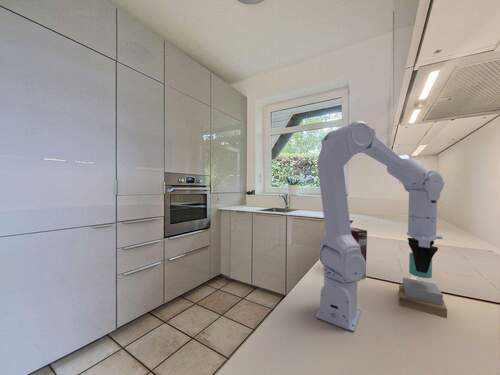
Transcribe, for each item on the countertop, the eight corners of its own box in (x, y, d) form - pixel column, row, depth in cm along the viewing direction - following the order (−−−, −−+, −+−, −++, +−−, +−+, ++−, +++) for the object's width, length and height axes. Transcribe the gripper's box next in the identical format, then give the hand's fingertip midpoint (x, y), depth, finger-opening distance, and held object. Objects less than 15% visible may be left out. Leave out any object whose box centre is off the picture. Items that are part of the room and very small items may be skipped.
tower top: (442, 305, 50) (442, 295, 50) (406, 297, 54) (406, 287, 54) (434, 292, 56) (434, 283, 56) (402, 286, 60) (402, 277, 60)
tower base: (447, 320, 49) (447, 309, 49) (399, 306, 54) (399, 297, 54) (440, 303, 56) (440, 293, 56) (398, 292, 61) (399, 284, 61)
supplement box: (335, 270, 75) (336, 226, 75) (345, 268, 77) (346, 225, 77) (356, 280, 67) (357, 231, 67) (366, 278, 69) (368, 230, 69)
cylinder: (433, 279, 52) (433, 259, 52) (409, 275, 54) (410, 255, 54) (430, 273, 56) (430, 254, 56) (408, 269, 58) (408, 251, 58)
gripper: (448, 222, 47) (446, 283, 47) (438, 215, 59) (436, 264, 59) (408, 218, 51) (407, 274, 51) (406, 213, 63) (405, 258, 63)
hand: (420, 268), depth 55 cm, fingers closed on cylinder, 5 cm apart
